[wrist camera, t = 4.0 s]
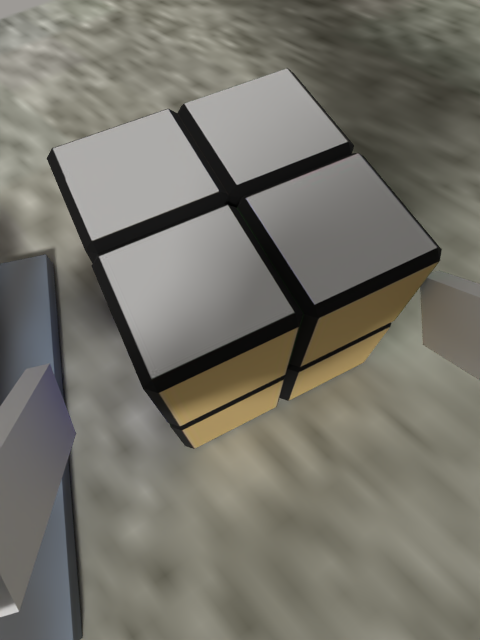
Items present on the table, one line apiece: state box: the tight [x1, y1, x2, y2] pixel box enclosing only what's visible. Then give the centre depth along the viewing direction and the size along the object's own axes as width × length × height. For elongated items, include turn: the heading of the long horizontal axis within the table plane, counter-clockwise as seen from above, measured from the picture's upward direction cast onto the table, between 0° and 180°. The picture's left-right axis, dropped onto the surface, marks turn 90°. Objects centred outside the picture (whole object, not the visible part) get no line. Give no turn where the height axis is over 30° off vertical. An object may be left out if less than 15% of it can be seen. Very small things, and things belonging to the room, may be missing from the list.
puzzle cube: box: [47, 68, 441, 449], centre depth 19 cm, size 10×10×10 cm
